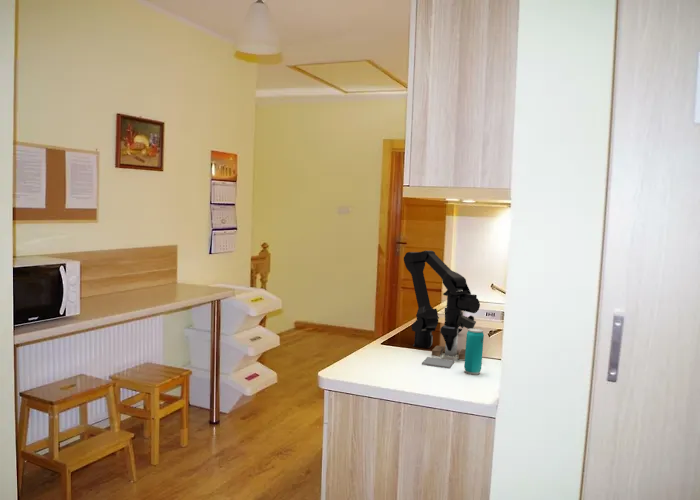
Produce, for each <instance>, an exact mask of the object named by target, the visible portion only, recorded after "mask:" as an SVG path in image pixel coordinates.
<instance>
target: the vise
mask: <svg viewBox="0 0 700 500" xmlns="http://www.w3.org/2000/svg"><path fill="white" fill-rule="evenodd" d="M465 350H466V348H465V349H464V348H461V350H459V352H458V353H457V359H458V360H462V361H463V360H464V361H465ZM443 353H445V346H442V345H436V346H434V348H433V349H432V350H431V356H433V357H440V356H441V355H442V354H443Z"/></svg>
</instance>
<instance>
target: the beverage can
mask: <svg viewBox="0 0 700 500" xmlns="http://www.w3.org/2000/svg"><path fill="white" fill-rule="evenodd" d="M484 336H485V334H484V330H483V329H481V328H470V329H467V332H466V337H465V338H466V340H465V349H466V350H465V360H464V372H465V373H466V374H469V375H474V376H475V375H479V374H480V372H481V370H482V364H483V351H484V339H485V337H484Z"/></svg>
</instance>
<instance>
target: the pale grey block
mask: <svg viewBox="0 0 700 500" xmlns="http://www.w3.org/2000/svg"><path fill="white" fill-rule="evenodd" d="M458 342H459V334H458V335H457V336H456V337H455V338H454V341H453V345H452V349H451V351H449V350H448V348H447V346H446V343H445V342H444V344H445V346H444V357H452V358H456V357H457V356H458Z"/></svg>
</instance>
